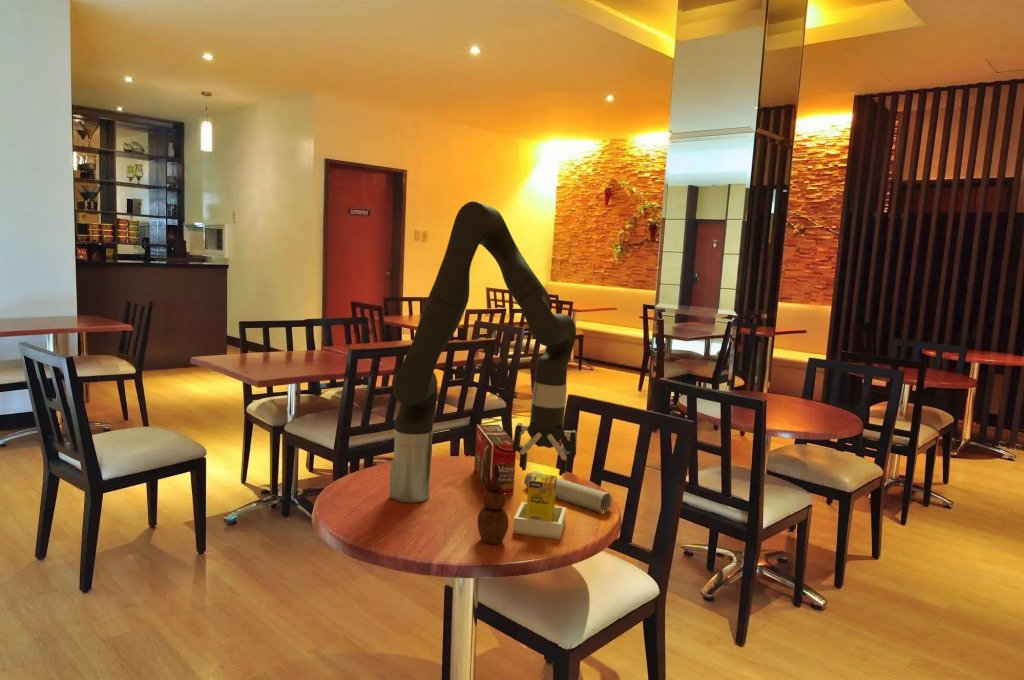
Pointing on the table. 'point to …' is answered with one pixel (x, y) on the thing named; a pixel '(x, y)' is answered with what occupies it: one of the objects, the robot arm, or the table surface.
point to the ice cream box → (495, 456)
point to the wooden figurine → (493, 514)
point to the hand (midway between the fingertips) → (542, 472)
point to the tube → (579, 494)
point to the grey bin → (539, 523)
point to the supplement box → (541, 497)
